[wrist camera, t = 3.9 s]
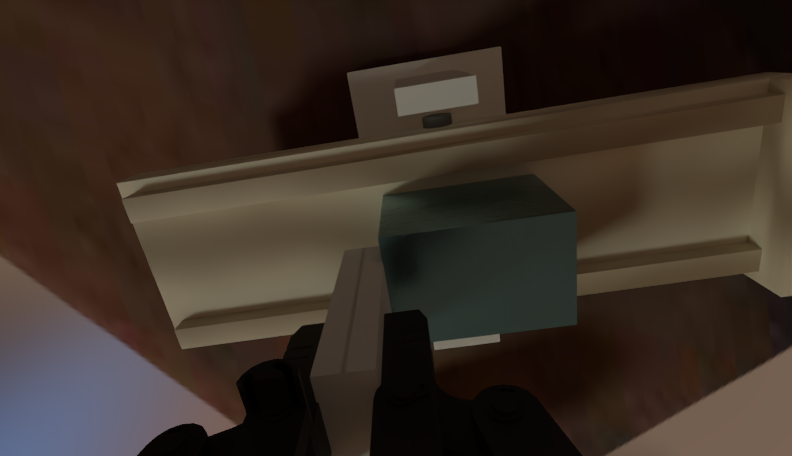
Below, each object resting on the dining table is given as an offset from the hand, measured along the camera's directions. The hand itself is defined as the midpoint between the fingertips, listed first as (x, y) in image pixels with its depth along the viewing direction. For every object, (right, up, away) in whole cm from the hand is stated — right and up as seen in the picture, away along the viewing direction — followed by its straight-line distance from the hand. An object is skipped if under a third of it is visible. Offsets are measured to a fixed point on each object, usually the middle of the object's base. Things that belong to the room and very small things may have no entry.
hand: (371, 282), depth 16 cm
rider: (+4, +2, +3) cm, 5 cm away
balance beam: (+3, +4, +7) cm, 8 cm away
